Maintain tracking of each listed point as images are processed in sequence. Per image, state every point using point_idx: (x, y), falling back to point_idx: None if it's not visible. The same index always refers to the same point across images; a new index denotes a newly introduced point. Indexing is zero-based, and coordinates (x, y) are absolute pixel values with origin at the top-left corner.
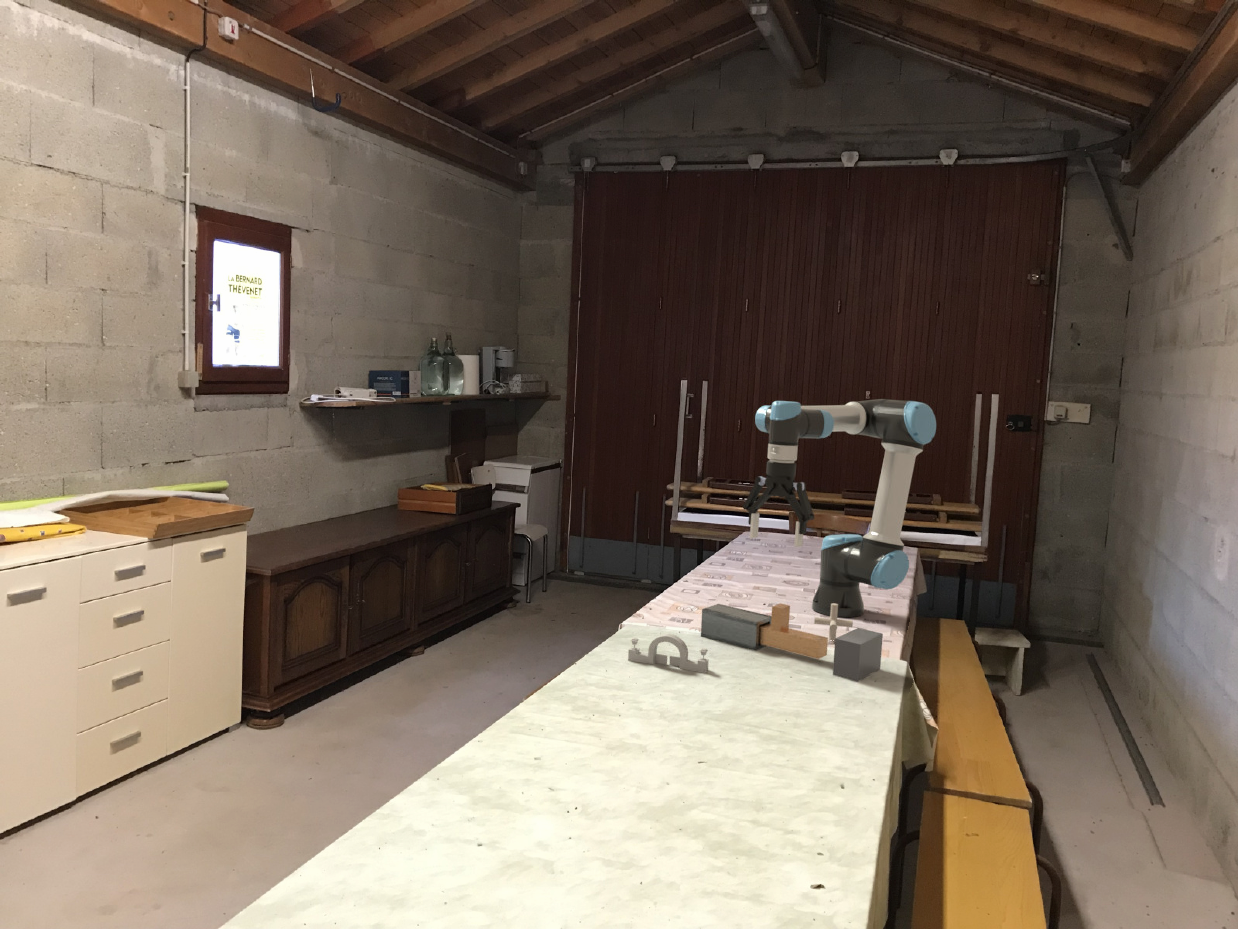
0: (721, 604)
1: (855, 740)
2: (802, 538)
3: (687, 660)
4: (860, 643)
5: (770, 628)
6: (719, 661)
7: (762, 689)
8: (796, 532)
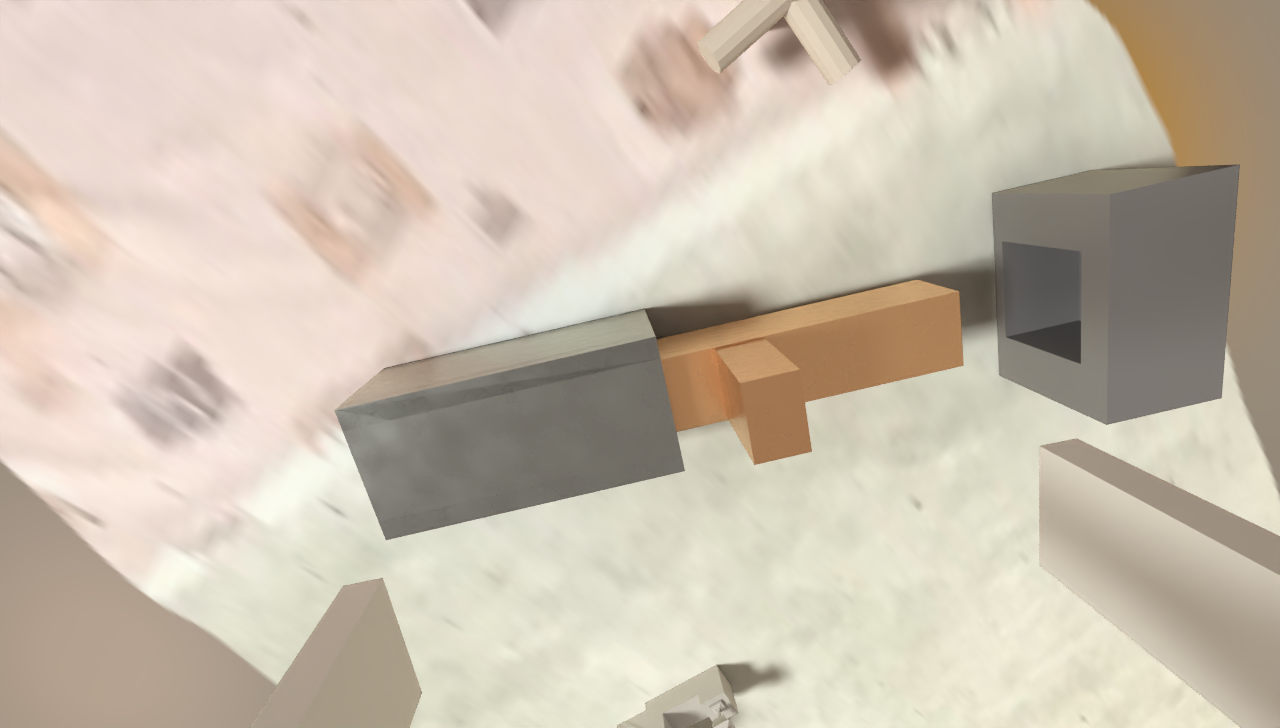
0: (353, 407)
1: None
2: (1171, 495)
3: (667, 718)
4: (1216, 386)
5: (718, 410)
6: (680, 592)
7: (923, 638)
8: (1246, 710)
